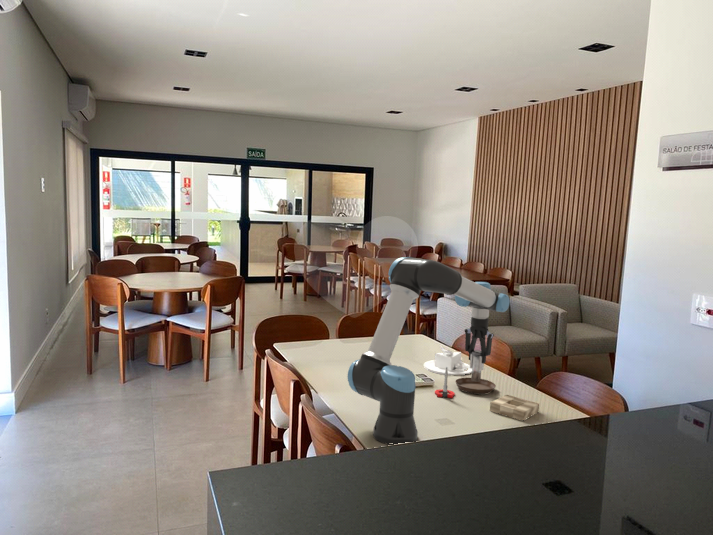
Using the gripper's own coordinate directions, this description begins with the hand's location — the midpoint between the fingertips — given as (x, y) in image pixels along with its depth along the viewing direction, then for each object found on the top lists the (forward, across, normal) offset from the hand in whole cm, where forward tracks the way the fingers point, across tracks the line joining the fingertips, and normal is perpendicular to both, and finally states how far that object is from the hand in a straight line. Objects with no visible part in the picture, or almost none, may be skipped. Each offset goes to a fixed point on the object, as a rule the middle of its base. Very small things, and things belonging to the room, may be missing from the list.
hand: (476, 368), depth 238 cm
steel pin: (+5, 0, 0) cm, 5 cm away
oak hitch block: (+9, -25, +13) cm, 30 cm away
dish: (+10, +26, -19) cm, 34 cm away
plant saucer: (+10, 0, 0) cm, 10 cm away
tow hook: (+10, +5, +17) cm, 20 cm away
